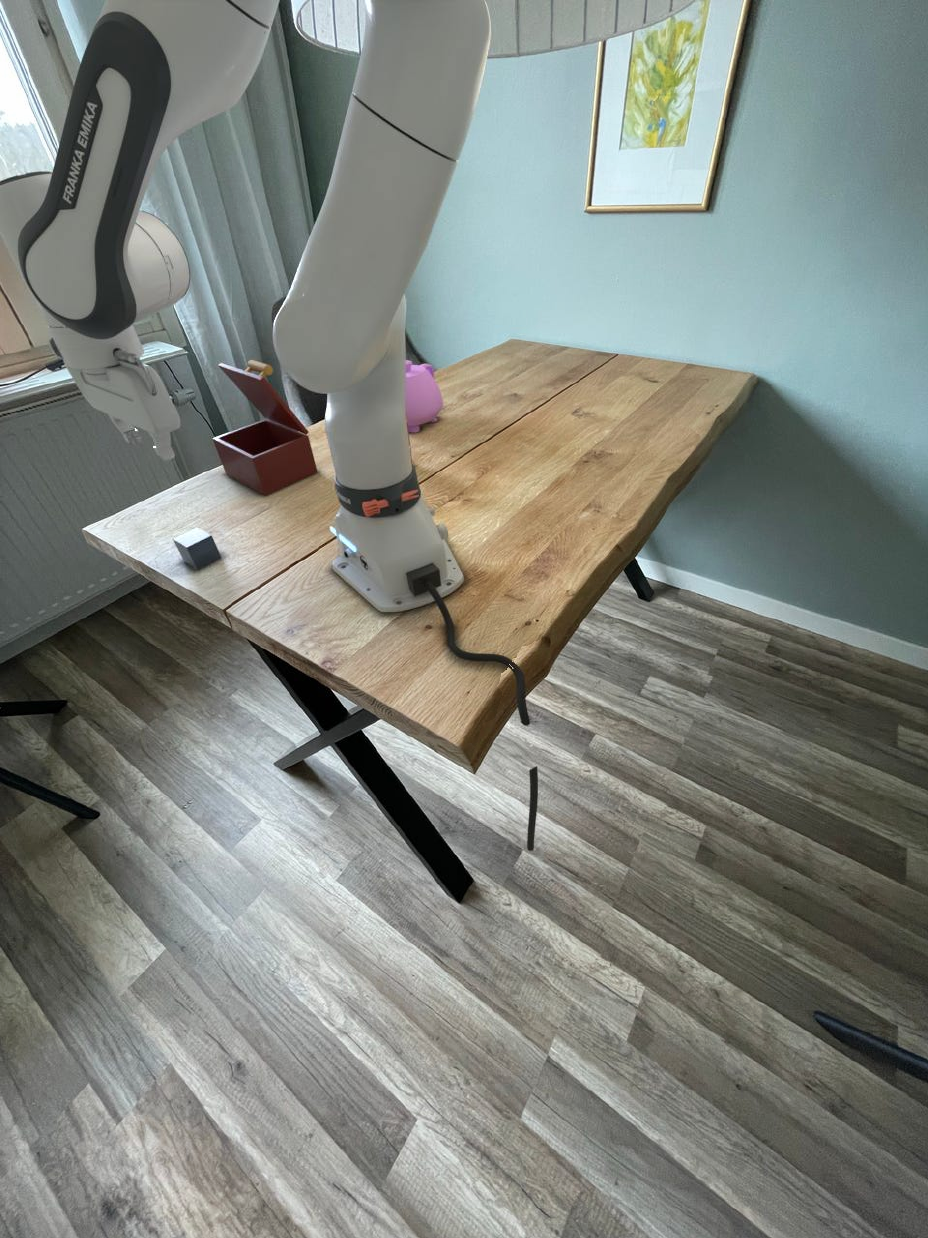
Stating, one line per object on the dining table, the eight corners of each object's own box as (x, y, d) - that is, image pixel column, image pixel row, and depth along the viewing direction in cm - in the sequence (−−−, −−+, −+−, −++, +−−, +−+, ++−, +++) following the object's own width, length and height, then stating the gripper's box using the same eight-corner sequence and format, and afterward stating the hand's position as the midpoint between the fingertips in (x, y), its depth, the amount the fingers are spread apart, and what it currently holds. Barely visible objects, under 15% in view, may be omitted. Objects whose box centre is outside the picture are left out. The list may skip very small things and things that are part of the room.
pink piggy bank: (404, 447, 116) (395, 382, 107) (354, 434, 123) (342, 372, 114) (462, 413, 129) (458, 353, 119) (413, 403, 136) (406, 345, 127)
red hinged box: (265, 496, 102) (252, 458, 97) (226, 474, 111) (212, 438, 105) (317, 472, 109) (308, 435, 104) (277, 453, 117) (266, 418, 112)
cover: (260, 379, 92) (277, 360, 93) (217, 365, 100) (233, 347, 101) (306, 434, 103) (321, 417, 104) (264, 417, 112) (279, 401, 112)
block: (221, 557, 87) (211, 535, 84) (197, 570, 85) (186, 547, 82) (207, 548, 89) (197, 526, 86) (183, 561, 87) (172, 539, 84)
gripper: (166, 348, 62) (210, 459, 71) (91, 329, 72) (139, 428, 81) (112, 363, 58) (166, 477, 67) (42, 340, 68) (97, 442, 77)
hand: (150, 450), depth 74 cm, fingers open, 8 cm apart
